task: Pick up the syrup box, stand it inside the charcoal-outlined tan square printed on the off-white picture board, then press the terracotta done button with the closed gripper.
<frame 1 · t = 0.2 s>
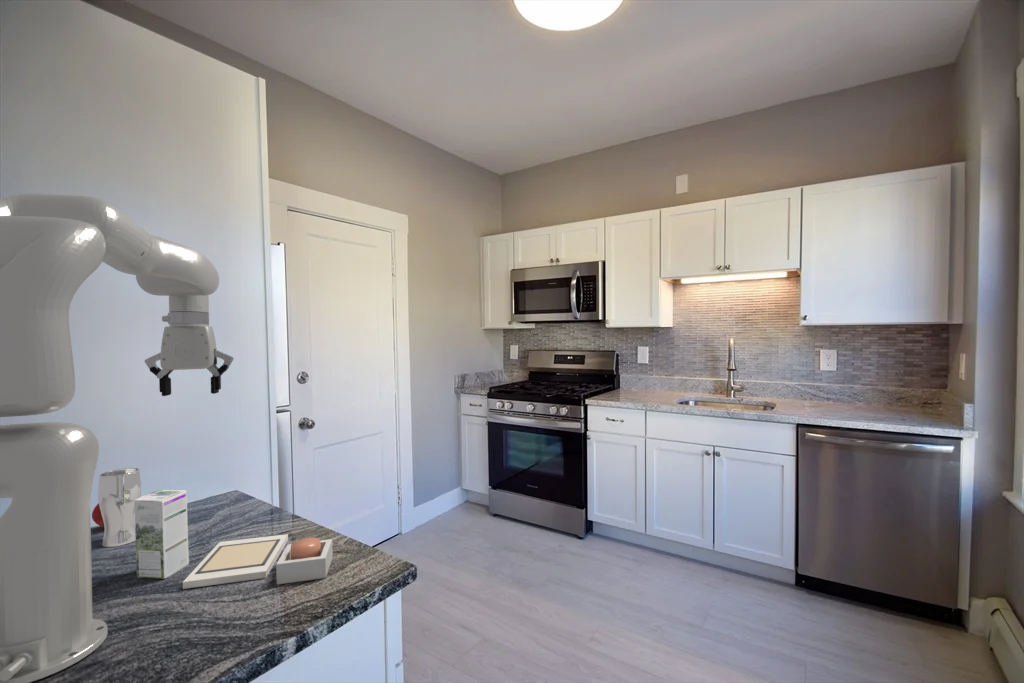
hand: (191, 394, 104), 31 cm above the worktop, tool pointing down, fingers open, 9 cm apart
syrup box: (163, 572, 83), on the worktop
beer glass: (121, 541, 97), on the worktop
picture board: (241, 561, 86), on the worktop
button housing: (306, 569, 82), on the worktop
onion: (109, 529, 104), on the worktop
done button: (305, 549, 82), point 4 cm above the worktop, slide at 0.0 cm
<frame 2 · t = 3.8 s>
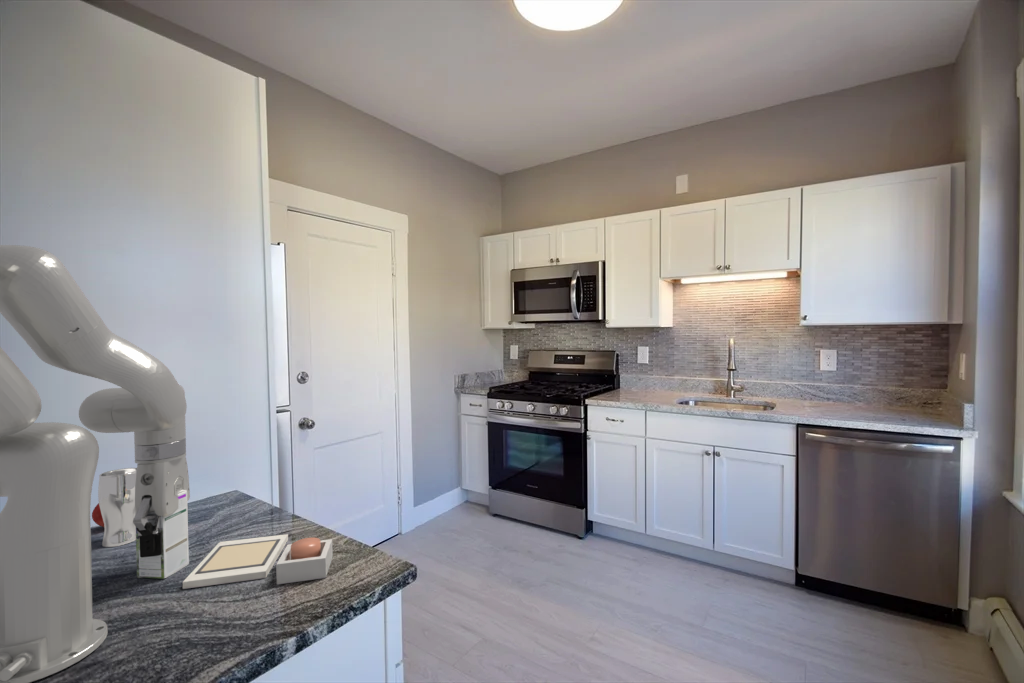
hand: (163, 545, 83), 5 cm above the worktop, tool pointing down, fingers closed on syrup box, 7 cm apart
syrup box: (163, 572, 83), on the worktop, touching gripper
everything else where it was.
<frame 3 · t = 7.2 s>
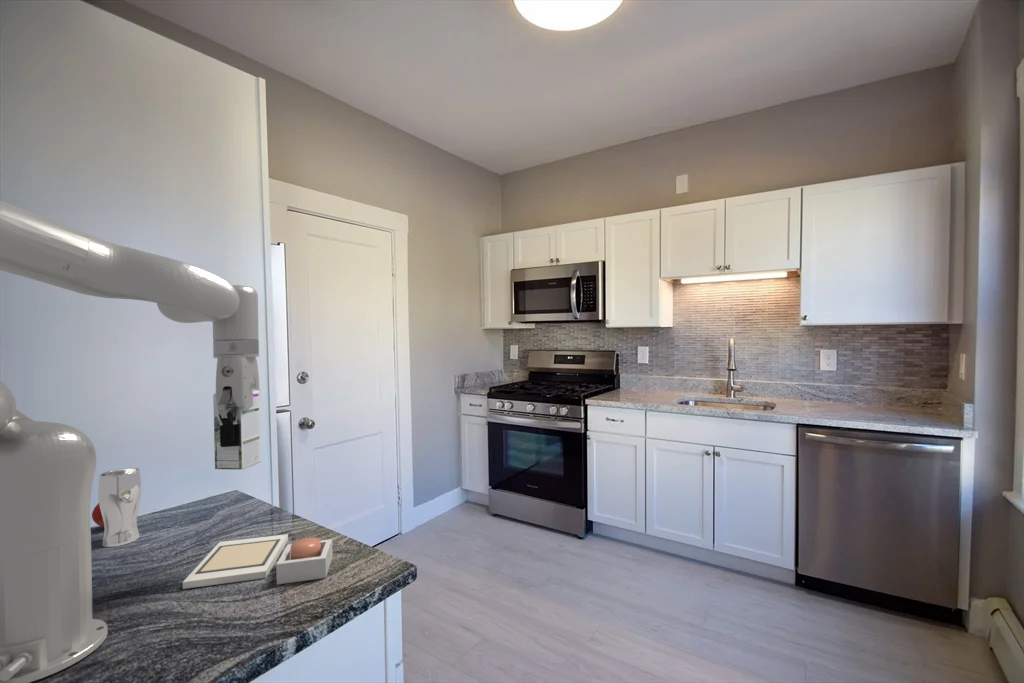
hand: (238, 441, 86), 23 cm above the worktop, tool pointing down, fingers closed on syrup box, 7 cm apart
syrup box: (238, 467, 86), point 18 cm above the worktop, touching gripper
everything else where it was.
when the fingers open (8 cm above the worktop, at t = 10.6 s): syrup box drops 1 cm, resting on picture board.
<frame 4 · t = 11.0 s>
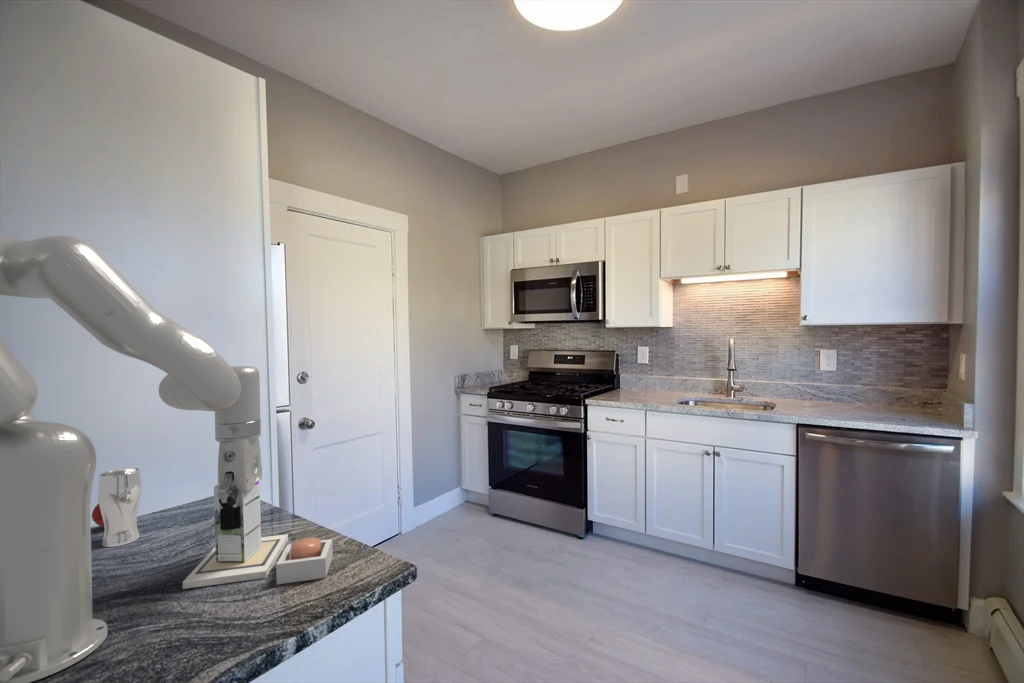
hand: (240, 518, 86), 8 cm above the worktop, tool pointing down, fingers open, 9 cm apart
syrup box: (239, 557, 86), point 1 cm above the worktop, touching picture board
everything else where it was.
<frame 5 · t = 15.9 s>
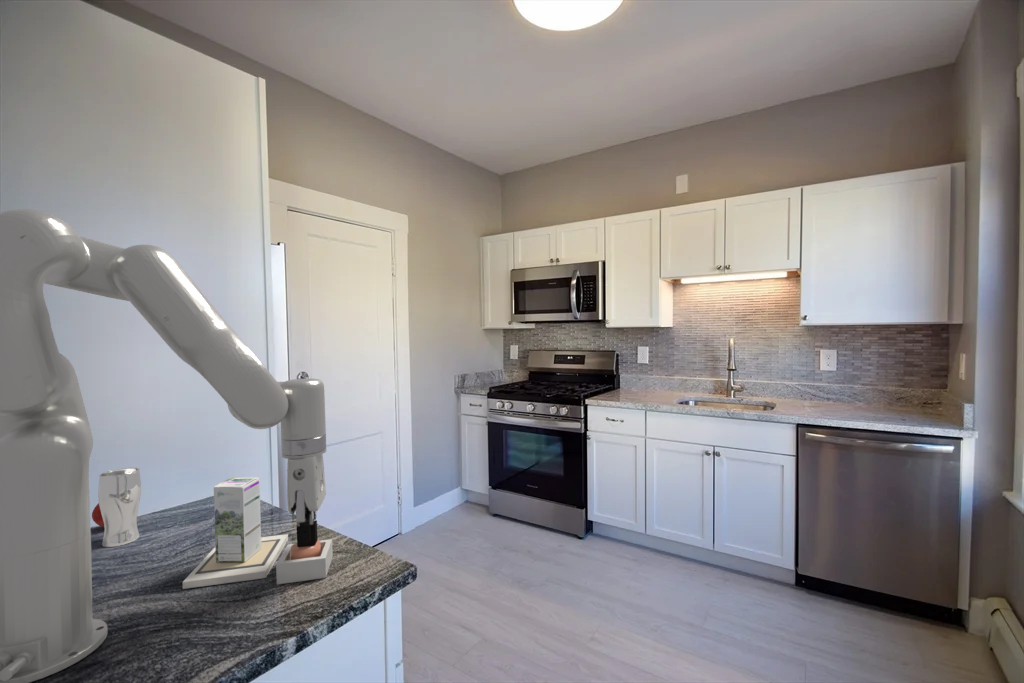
hand: (307, 544, 83), 5 cm above the worktop, tool pointing down, fingers closed
done button: (305, 551, 82), point 3 cm above the worktop, slide at 0.3 cm, touching gripper
everything else where it was.
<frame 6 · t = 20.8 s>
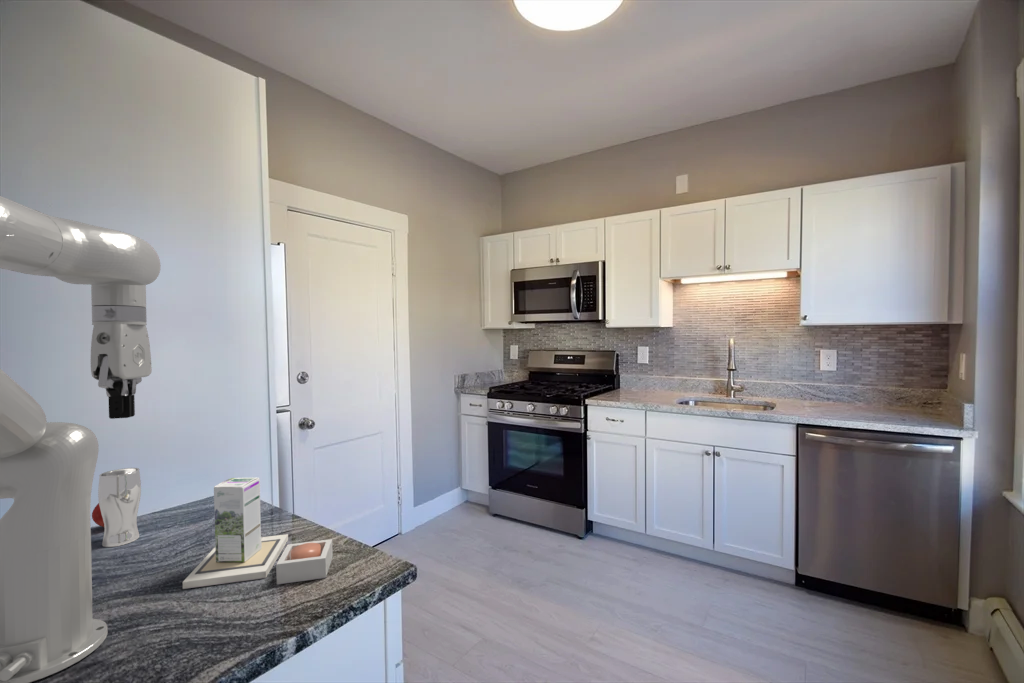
hand: (122, 417, 82), 29 cm above the worktop, tool pointing down, fingers closed
done button: (306, 555, 82), point 3 cm above the worktop, slide at 1.0 cm
everything else where it was.
at the end: syrup box 0.5 cm off-centre on the picture board, point 1.1 cm above the picture board's base; syrup box tilted 0°; done button slide at 1.0 cm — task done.
